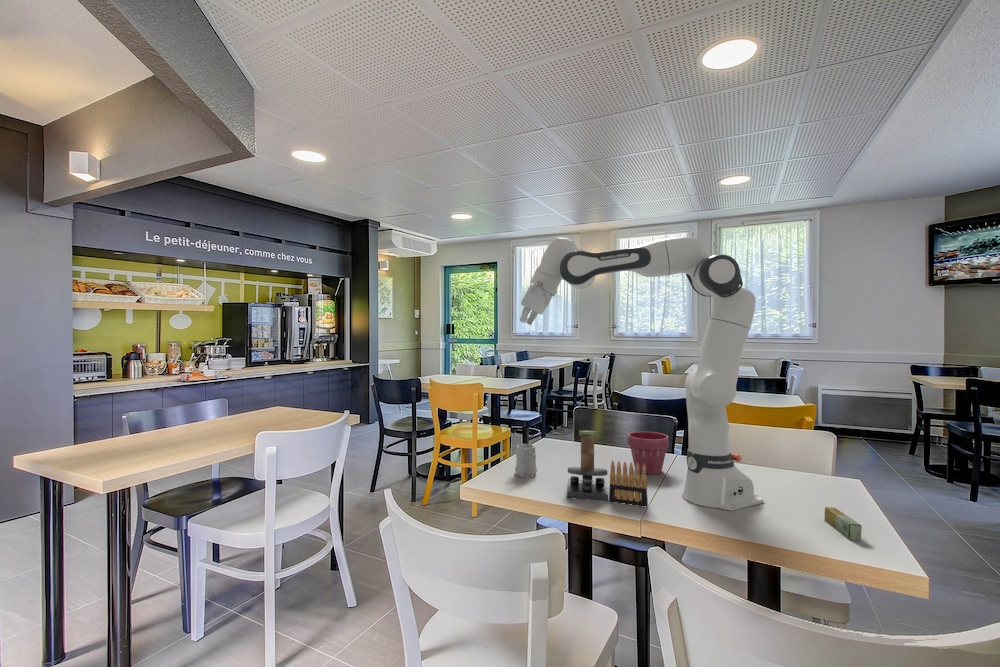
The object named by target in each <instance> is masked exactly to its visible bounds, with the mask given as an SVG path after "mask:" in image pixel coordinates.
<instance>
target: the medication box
mask: <svg viewBox="0 0 1000 667" xmlns="http://www.w3.org/2000/svg"><path fill="white" fill-rule="evenodd" d="M824 522H825V523H827V525H829V526H830V527H832V528H833V529H834V530H835V531H837V532H838V533H839V534H841V536H843V537H845V538H846V539H847V541H853V542H861V541H862V528H863V527H862V525H861V524H860V523H859V522H857V521H856V520H854V519H852V518H851V517H849V516H848V515H846V514H845V513H844V512H842V511H841V510H839V509H837V508H836V507H831V506H825V507H824Z"/></svg>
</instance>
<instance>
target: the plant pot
mask: <svg viewBox="0 0 1000 667" xmlns="http://www.w3.org/2000/svg"><path fill="white" fill-rule="evenodd" d="M627 444H628V446H630V451H631V455H632V456H631V457H632V461H633V467H634V470H635V471H636V465H637V463H638V464H639V468H640V473H641V472H642V467H643V464H645V466H646V473H648V475H656V474H657V473H658V474H661V473H662V472H663V471H662V470H663V468H664V467H663V466H664V462H665V458H666V457H665V456H666V453H667V452H666V451H667V449H668V448H670V439H669V436H668V435H667V434H665V433H661V432H658V431H657V432H655V431H632V432H629V433H628V434H627Z"/></svg>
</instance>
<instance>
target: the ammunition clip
mask: <svg viewBox="0 0 1000 667" xmlns="http://www.w3.org/2000/svg"><path fill="white" fill-rule="evenodd" d="M610 463H611V464H610V473H609V490H608V502H609V501H610V502H609V503H613V502H617V503H616V504H621V503H625V504H624V505H628V504H632V505H631V506H635V505H638V506H637V507H642V506H646V507H645V508H647V507H648V504H649V503H648V502H649V501H648V477H647V474H646V466H645V464H643V467H642V473H641V472H640V468H639V464H638V463H637V465H636V470H635V473H634V464H633V463H632V462H631V461H630V463H629V466H627V462H626V461H624V462H623V466H621V461H619V460H618V462H617V464H616V467H615V461H614V460H611V462H610ZM628 467H629V468H628Z"/></svg>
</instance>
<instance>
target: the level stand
mask: <svg viewBox="0 0 1000 667" xmlns="http://www.w3.org/2000/svg"><path fill="white" fill-rule="evenodd" d="M581 476H582V479H580V477H579V476H578V475H577V476H576V475H572V476H570V478H568V479H567V488H566V499H572V498H576V500H586V499H589V501H601V500H602V502H609V490H608V489H609V488H608V483H607V481H606V480H605V478H603V477H596V478H595V480H593V476H586V475H581Z"/></svg>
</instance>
